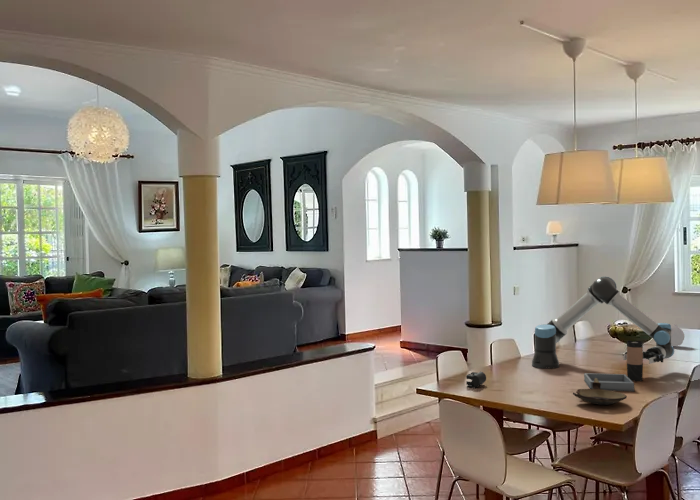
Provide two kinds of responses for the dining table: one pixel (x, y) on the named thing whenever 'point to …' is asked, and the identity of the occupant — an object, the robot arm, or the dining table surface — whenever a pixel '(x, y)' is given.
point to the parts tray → (610, 381)
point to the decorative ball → (676, 335)
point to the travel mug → (635, 360)
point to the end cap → (475, 379)
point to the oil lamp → (599, 395)
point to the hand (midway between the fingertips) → (636, 359)
